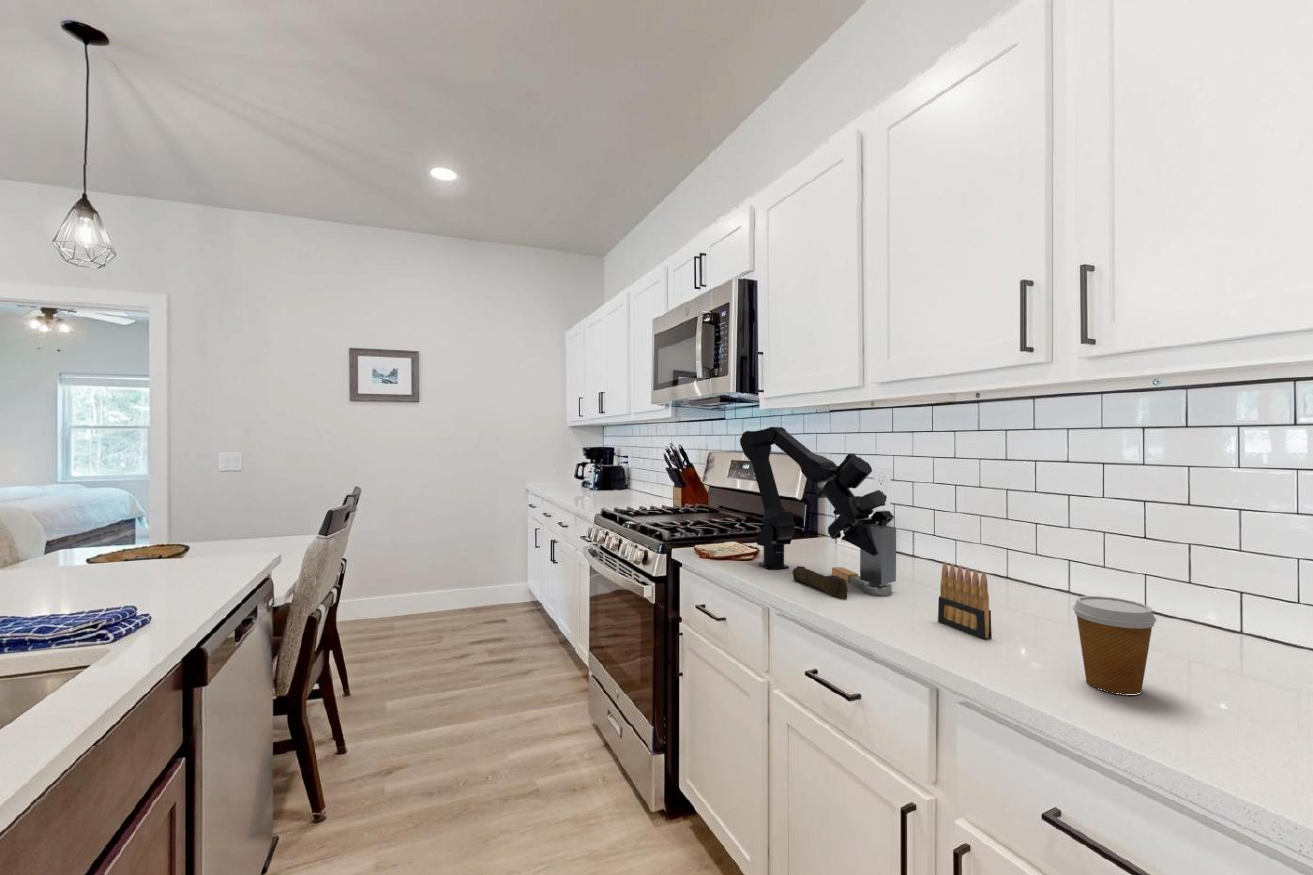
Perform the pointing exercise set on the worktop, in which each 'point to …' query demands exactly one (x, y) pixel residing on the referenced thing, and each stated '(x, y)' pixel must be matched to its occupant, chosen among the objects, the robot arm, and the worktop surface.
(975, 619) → the ammunition clip
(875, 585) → the ratchet
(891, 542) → the grey metal square prism
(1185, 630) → the worktop surface
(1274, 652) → the worktop surface
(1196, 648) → the worktop surface
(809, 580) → the hand tool
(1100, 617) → the disposable coffee cup
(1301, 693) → the worktop surface
